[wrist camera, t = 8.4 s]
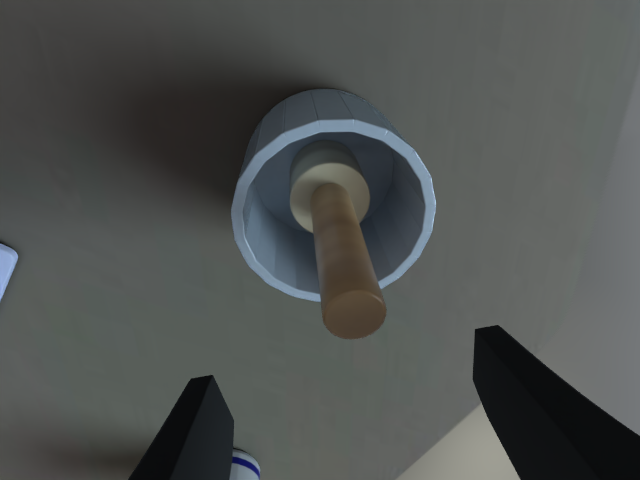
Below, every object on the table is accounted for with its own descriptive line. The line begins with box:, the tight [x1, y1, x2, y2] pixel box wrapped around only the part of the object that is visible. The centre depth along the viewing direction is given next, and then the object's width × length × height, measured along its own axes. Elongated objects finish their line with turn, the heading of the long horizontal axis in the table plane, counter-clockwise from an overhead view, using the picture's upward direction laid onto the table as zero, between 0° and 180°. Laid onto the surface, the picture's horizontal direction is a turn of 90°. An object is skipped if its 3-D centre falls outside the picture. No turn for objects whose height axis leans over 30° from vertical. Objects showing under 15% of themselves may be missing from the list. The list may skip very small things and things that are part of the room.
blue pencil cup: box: [231, 89, 436, 302], centre depth 16 cm, size 7×7×6 cm
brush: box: [290, 140, 386, 339], centre depth 14 cm, size 3×3×10 cm
